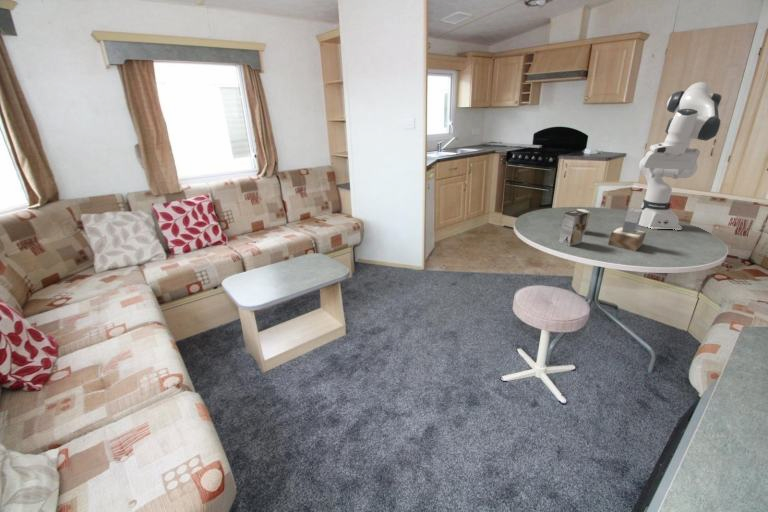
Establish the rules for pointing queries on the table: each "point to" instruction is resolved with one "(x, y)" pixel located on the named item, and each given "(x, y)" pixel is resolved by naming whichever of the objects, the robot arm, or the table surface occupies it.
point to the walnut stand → (626, 239)
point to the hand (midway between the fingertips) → (663, 177)
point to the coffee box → (573, 227)
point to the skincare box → (587, 217)
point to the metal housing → (632, 221)
